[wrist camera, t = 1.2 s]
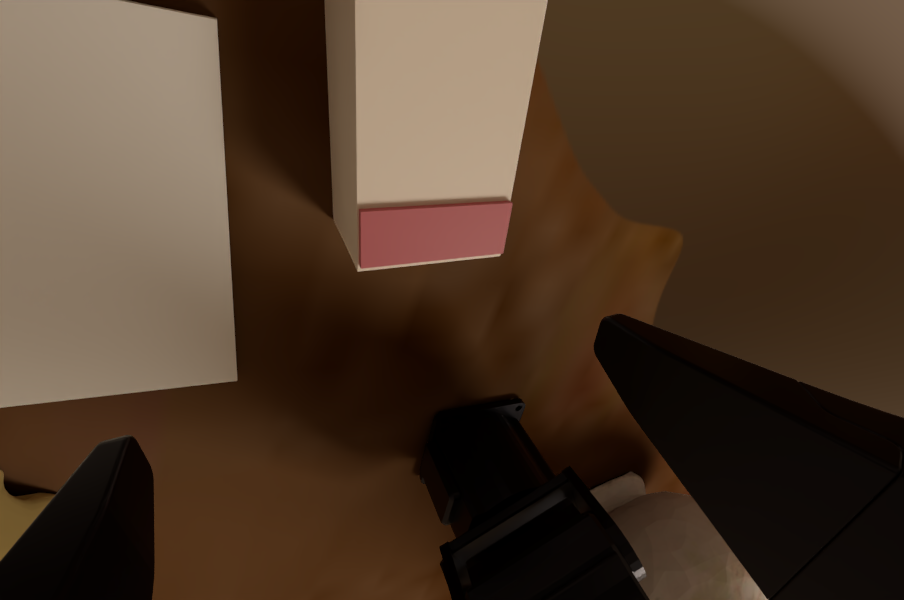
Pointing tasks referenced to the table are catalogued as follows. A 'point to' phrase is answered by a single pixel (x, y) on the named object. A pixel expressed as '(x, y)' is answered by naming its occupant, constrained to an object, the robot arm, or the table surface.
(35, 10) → the grey mat
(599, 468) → the table surface
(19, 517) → the cheese
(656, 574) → the ceramic pitcher
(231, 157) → the table surface
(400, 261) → the card box
